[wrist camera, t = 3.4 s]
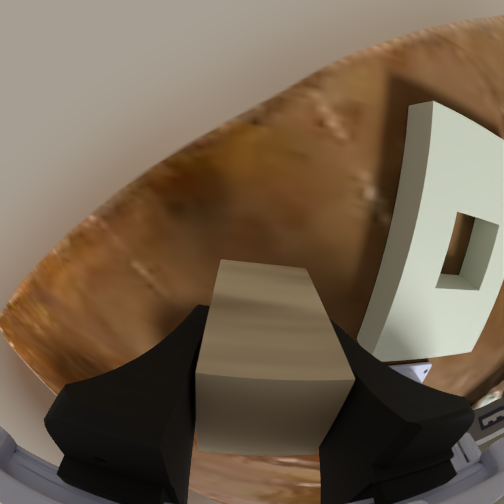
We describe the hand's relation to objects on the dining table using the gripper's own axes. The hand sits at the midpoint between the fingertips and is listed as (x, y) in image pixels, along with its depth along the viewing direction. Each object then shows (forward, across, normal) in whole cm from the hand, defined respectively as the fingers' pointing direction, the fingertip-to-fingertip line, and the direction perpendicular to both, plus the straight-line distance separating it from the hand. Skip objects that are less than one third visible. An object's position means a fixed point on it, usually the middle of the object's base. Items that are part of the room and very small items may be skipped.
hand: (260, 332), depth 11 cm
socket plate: (+8, -15, -3) cm, 17 cm away
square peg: (+2, 0, 0) cm, 2 cm away
